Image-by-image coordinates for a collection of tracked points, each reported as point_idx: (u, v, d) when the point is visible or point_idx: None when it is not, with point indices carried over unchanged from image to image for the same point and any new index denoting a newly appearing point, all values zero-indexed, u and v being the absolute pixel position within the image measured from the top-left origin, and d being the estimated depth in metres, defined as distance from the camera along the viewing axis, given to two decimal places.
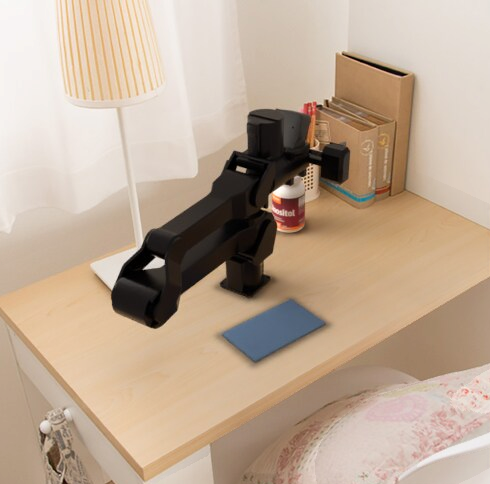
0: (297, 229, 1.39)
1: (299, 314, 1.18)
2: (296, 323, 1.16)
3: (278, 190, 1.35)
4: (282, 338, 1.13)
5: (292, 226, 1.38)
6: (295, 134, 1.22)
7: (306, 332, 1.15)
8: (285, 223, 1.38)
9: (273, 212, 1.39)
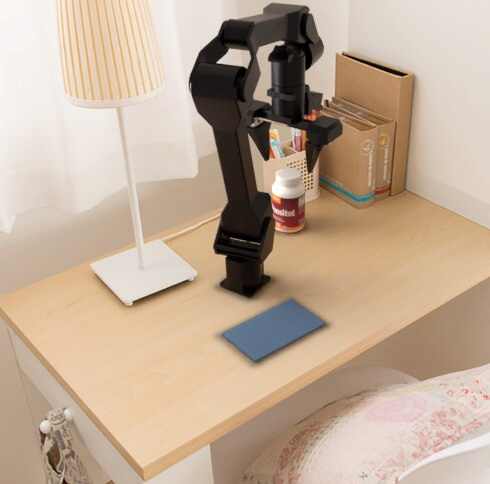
0: (297, 229, 1.39)
1: (299, 314, 1.18)
2: (296, 323, 1.16)
3: (278, 190, 1.35)
4: (282, 338, 1.13)
5: (292, 226, 1.38)
6: (312, 92, 1.30)
7: (306, 332, 1.15)
8: (285, 223, 1.38)
9: (273, 212, 1.39)
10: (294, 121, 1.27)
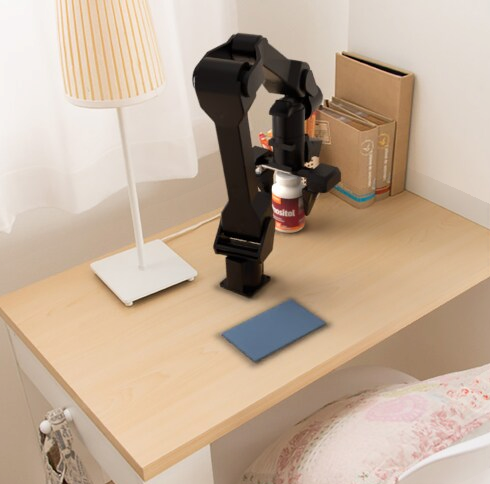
0: (297, 229, 1.39)
1: (299, 314, 1.18)
2: (296, 323, 1.16)
3: (278, 190, 1.35)
4: (282, 338, 1.13)
5: (292, 226, 1.38)
6: (312, 140, 1.35)
7: (306, 332, 1.15)
8: (285, 223, 1.38)
9: None
10: (294, 169, 1.32)
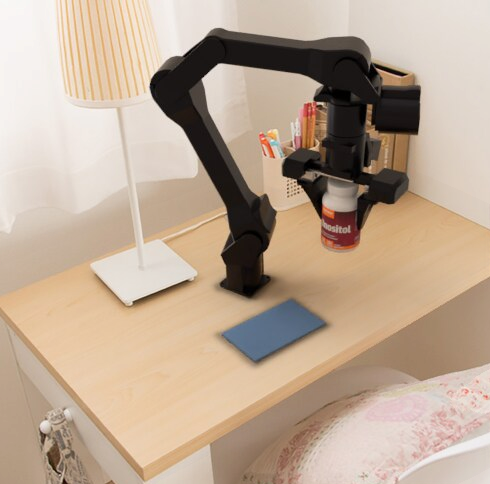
0: (352, 248, 1.16)
1: (299, 314, 1.18)
2: (296, 323, 1.16)
3: (331, 202, 1.12)
4: (282, 338, 1.13)
5: (346, 245, 1.15)
6: (371, 140, 1.12)
7: (306, 332, 1.15)
8: (338, 241, 1.15)
9: (323, 228, 1.15)
10: (353, 175, 1.09)
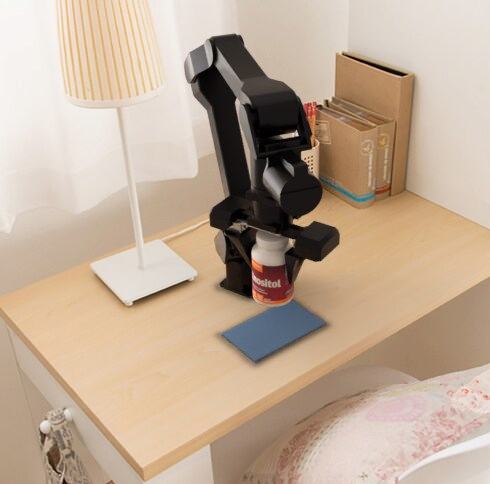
0: (284, 302, 1.10)
1: (299, 314, 1.18)
2: (296, 323, 1.16)
3: (259, 255, 1.06)
4: (282, 338, 1.13)
5: (277, 299, 1.09)
6: None
7: (306, 332, 1.15)
8: (268, 295, 1.08)
9: (253, 281, 1.09)
10: (280, 229, 1.02)
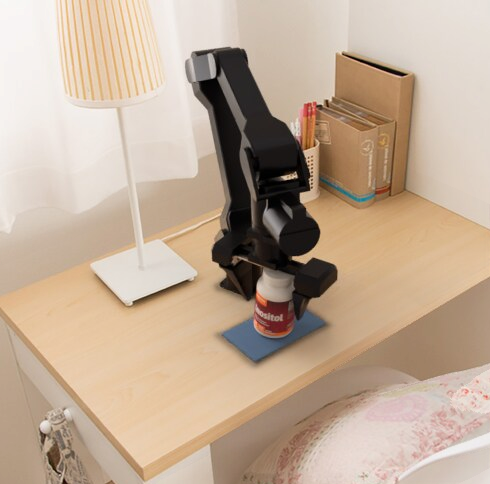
0: (284, 335, 1.13)
1: None
2: (296, 323, 1.16)
3: (264, 290, 1.08)
4: (282, 338, 1.13)
5: (278, 332, 1.12)
6: None
7: (306, 332, 1.15)
8: (270, 328, 1.12)
9: (256, 312, 1.12)
10: (279, 266, 1.05)
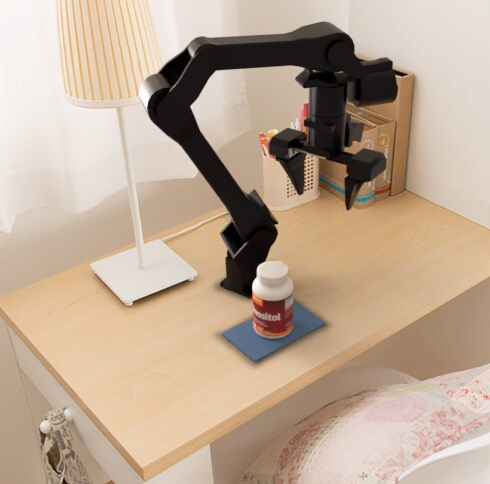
0: (284, 335, 1.13)
1: (299, 314, 1.18)
2: (296, 323, 1.16)
3: (260, 290, 1.09)
4: (282, 338, 1.13)
5: (277, 332, 1.12)
6: (353, 121, 1.18)
7: (306, 332, 1.15)
8: (268, 328, 1.12)
9: (254, 314, 1.13)
10: (333, 154, 1.14)
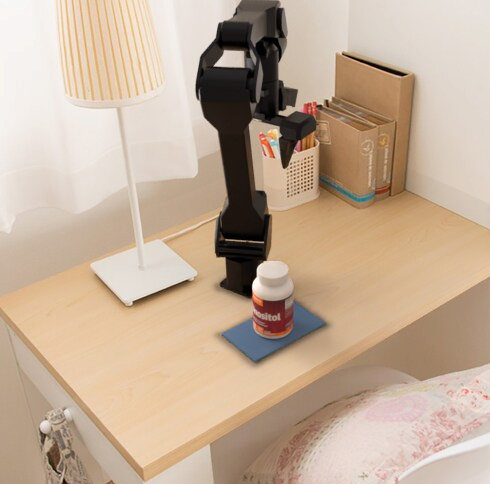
0: (284, 335, 1.13)
1: (299, 314, 1.18)
2: (296, 323, 1.16)
3: (260, 290, 1.09)
4: (282, 338, 1.13)
5: (277, 332, 1.12)
6: (287, 88, 1.30)
7: (306, 332, 1.15)
8: (268, 328, 1.12)
9: (254, 314, 1.13)
10: (268, 117, 1.27)
